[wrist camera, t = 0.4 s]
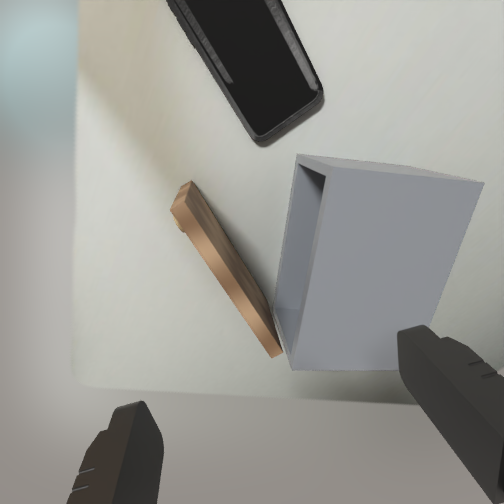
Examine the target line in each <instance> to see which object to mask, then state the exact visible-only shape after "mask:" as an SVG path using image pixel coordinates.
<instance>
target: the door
mask: <svg viewBox="0 0 504 504" xmlns="http://www.w3.org/2000/svg"><path fill="white" fill-rule="evenodd" d="M170 211H171V212H172V214H173V215H174V221H175V223H176V225H177V226H178V228H179V229H180V230H181V231H182V232H185V233H186V234H187V236H188V237H189V239H190V240H191V242H192V243H193V245H194V246H195V247H196V249H197V250H198V252H199V253H200V255H201V256H202V258H203V259H204V261H205V262H206V264H207V265H208V266H209V268H210V269H211V271H212V272H213V274H214V275H215V277H216V278H217V280H218V281H219V283H220V284H221V285H222V287H223V288H224V290H225V291H226V293H227V294H228V296H229V297H230V299H231V300H232V302H233V303H234V304H235V306H236V307H237V309H238V310H239V312H240V313H241V315H242V316H243V318H244V319H245V321H246V322H247V323H248V325H249V326H250V328H251V329H252V331H253V332H254V334H255V335H256V337H257V338H258V340H259V341H260V342H261V344H262V345H263V347H264V348H265V350H266V351H267V353H268V354H269V356H270V357H271V358H273V357H275V356H277V355H279V354H281V353H283V350H282V347H281V344H280V341H279V338H278V334H277V331H276V328H275V325H274V322H273V318H272V315H271V312H270V309H269V305H268V302H267V300H266V298H265V297H264V295H263V293H262V292H261V290H260V289H259V287H258V285H257V284H256V282H255V281H254V279H253V277H252V276H251V274H250V273H249V271H248V269H247V268H246V266H245V264H244V263H243V261H242V260H241V258H240V256H239V255H238V253H237V252H236V250H235V248H234V247H233V245H232V244H231V242H230V240H229V239H228V237H227V236H226V234H225V232H224V231H223V229H222V228H221V226H220V224H219V223H218V221H217V220H216V218H215V216H214V215H213V213H212V212H211V210H210V208H209V207H208V205H207V204H206V202H205V200H204V199H203V197H202V196H201V194H200V192H199V191H198V189H197V188H196V186H195V184H194V183H193V181H192V180H191V181H190V182H188V183H186V184H185V185H183V186H181V188H180V190H179V192H178V194H177V196H176V198H175V200H174V202H173V204H172V207H171V209H170Z"/></svg>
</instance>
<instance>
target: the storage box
mask: <svg viewBox="0 0 504 504" xmlns="http://www.w3.org/2000/svg"><path fill="white" fill-rule="evenodd" d="M483 186H484V182H479V181H474V180H470V179H465V178H460V177H456V176H451V175H447V174H442V173H437V172H433V171H428V170H423V169H419V168H414V167H410V166H403V165H394V164H385V163H376V162H367V161H358V160H349V159H340V158H331V157H322V156H313V155H304V154H297V157H296V163H295V170H294V176H293V182H292V189H291V195H290V201H289V207H288V214H287V220H286V226H285V233H284V239H283V245H282V251H281V258H280V264H279V270H278V277H277V283H276V289H275V296H274V302H273V308H272V310H273V313H274V316H275V320H276V323H277V326H278V329H279V332H280V335H281V338H282V341H283V344H284V347H285V350H286V354H287V357H288V360H289V363H290V366H291V369H292V370H399V366H398V346H397V333H398V331H400V330H404V329H408V328H411V327H415V326H419V325H425V326H427V327H428V328H429V326H430V323H431V321H432V318H433V316H434V313H435V310H436V308H437V305H438V303H439V300H440V297H441V295H442V292H443V290H444V287H445V284H446V282H447V279H448V277H449V274H450V272H451V269H452V266H453V264H454V261H455V259H456V256H457V253H458V251H459V248H460V246H461V243H462V240H463V238H464V235H465V233H466V230H467V227H468V225H469V222H470V220H471V217H472V214H473V212H474V209H475V207H476V204H477V201H478V199H479V196H480V194H481V191H482V188H483Z"/></svg>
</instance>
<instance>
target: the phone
mask: <svg viewBox="0 0 504 504" xmlns="http://www.w3.org/2000/svg"><path fill="white" fill-rule="evenodd" d="M166 1H167V2H168V6H169V7H170V9H171V10H172V12H174V14H175V15H176V17H177V21H178V22H179V24H180V25H181V27H182V29H183V30H184V31H185V32H186V33H187V34H186V36H187V37H188V39H189V40H190V42H191V44H192V45H194V46H195V48H196V49H197V51H198V53H199V54H200V56H201V58H202V59H203V61H204V62H205V64H206V66H207V67H208V69H209V71H210V72H211V74H212V75H213V77H214V79H215V80H216V82H217V84H218V85H219V87H220V88H221V90H222V92H223V93H224V95H225V97H226V98H227V100H228V101H229V103H230V105H231V106H232V108H233V110H234V111H235V113H236V114H237V116H238V118H239V119H240V121H241V123H242V124H243V126H244V127H245V129H246V131H247V132H248V134H249V135H250V137H251V138H252V139H254V140H256V141H265V140H267V139H268V138H270V137H271V136H273V135H274V134H276V133H277V132H278V131H280V130H281V129H283V128H284V127H285V126H287V125H288V124H290V123H291V122H293V121H294V120H295V119H297V118H298V117H300V116H301V115H303V114H304V113H305V112H307V111H308V110H310V109H311V108H312V107H314V106H315V105H317V104H318V103H319V102H320V100H321V99H322V96H323V87H322V84H321V82H320V80H319V78H318V76H317V74H316V72H315V69H314V67H313V65H312V63H311V61H310V59H309V57H308V55H307V53H306V51H305V49H304V47H303V45H302V43H301V40H300V38H299V36H298V34H297V32H296V30H295V28H294V26H293V24H292V22H291V20H290V18H289V16H288V14H287V12H286V9H285V7H284V5H283V3H282V1H281V0H166Z"/></svg>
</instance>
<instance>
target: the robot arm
mask: <svg viewBox="0 0 504 504" xmlns="http://www.w3.org/2000/svg"><path fill="white" fill-rule="evenodd" d="M397 346H398V366H399V372H400V375H401V378H402V380H403V382H404V384H405V386H406V387H407V389H408V390H409V392H410V393H411V394H412V396H413V397H414V398H415V400H416V401H417V402H418V404H419V405H420V406H421V408H422V409H423V410H424V412H425V413H426V414H427V416H428V417H429V418H430V420H431V421H432V422H433V424H434V425H435V426H436V428H437V429H438V430H439V432H440V433H441V434H442V436H443V437H444V438H445V440H446V441H447V443H448V444H449V445H450V447H451V448H452V449H453V450H454V452H455V453H456V454H457V456H458V457H459V459H460V460H461V461H462V462H463V464H464V465H465V467H466V468H467V469H468V471H469V472H470V473H471V475H472V476H473V477H474V479H475V480H476V481H477V483H478V484H479V485H480V487H481V488H482V489H483V491H484V492H485V493H486V495H487V496H488V498H489V499H490V500H491V502H492V503H493V504H499V503H503V502H504V377H503V376H501V375H498V374H497V371H496V370H495V369H493V368H492V367H491V366H490V365H489V364H488V363H485V362H484V361H483V359H482V358H481V357H479V356H478V355H477V354H476V353H475V352H474V351H473V350H471V349H470V348H469V347H468V346H466V345H464V344H462V343H460V342H458V341H456V340H454V339H452V338H449V337H445V338H441V339H440V338H439V337H438V336H437V335H436V334H435V333H434V332H433V331H431V330H430V329H429V328H428V327H427V326H425V325H419V326H415V327H411V328H408V329H404V330H400V331H398V333H397ZM163 456H164V445H163V438H162V435H161V432H160V430H159V428H158V426H157V424H156V422H155V420H154V419H153V417H152V415H151V413H150V411H149V409H148V407H147V405H146V403H145V402H144V401H139V402H135V403H132V404H127V405H124V406H120V407H117V408H116V409H115V411H114V412H113V415H112V418H111V421H110V424H109V427H108V430H104V431H100V432H99V434H98V435H97V437H96V438H95V440H94V441H93V442H92V444H91V445H90V447H89V448H88V449H87V451H86V453H85V456H84V459H83V461H82V464H81V467H80V469H79V475H78V476H77V477H76V480H75V483H74V485H73V488H72V493H71V494H70V496H69V498H68V501H67V504H157V498H158V492H159V484H160V476H161V470H162V463H163Z"/></svg>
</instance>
